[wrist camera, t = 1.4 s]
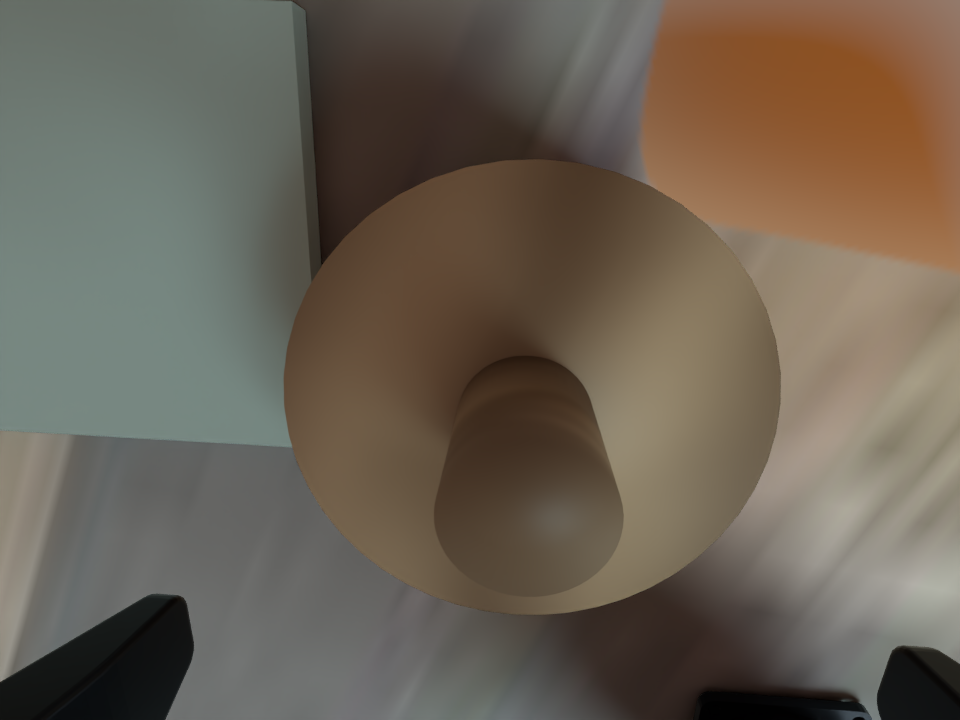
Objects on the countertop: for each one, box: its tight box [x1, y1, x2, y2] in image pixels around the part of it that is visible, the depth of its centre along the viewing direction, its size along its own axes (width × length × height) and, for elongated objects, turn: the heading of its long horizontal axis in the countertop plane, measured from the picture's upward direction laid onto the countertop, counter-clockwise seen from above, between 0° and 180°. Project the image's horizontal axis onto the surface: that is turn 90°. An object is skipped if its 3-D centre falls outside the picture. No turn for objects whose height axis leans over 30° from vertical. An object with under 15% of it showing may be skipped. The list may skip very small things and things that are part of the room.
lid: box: [284, 159, 781, 615], centre depth 12 cm, size 12×12×5 cm
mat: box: [0, 0, 321, 447], centre depth 17 cm, size 13×13×1 cm
